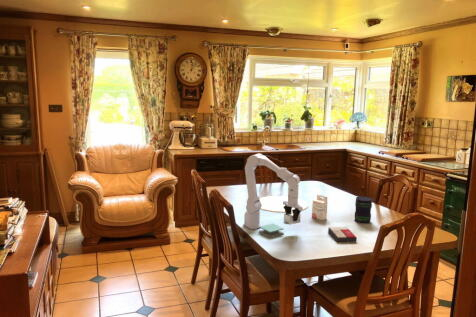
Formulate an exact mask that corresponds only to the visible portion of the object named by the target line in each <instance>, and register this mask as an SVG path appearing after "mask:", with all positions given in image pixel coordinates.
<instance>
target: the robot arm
mask: <svg viewBox="0 0 476 317" xmlns="http://www.w3.org/2000/svg"><path fill="white" fill-rule="evenodd" d="M258 166H265V167H267V168H269V169H270V170H272V171H273V172H275V173H276V175H277V177H279V178H280V179H282V180H283V181H285V182H286V183H287V184H286V185H287V186H288V187H287V188H288V189H287V197H288V201H283V205H285V206H284V207H283V208H284V210H285V212H286V213H291V211H292V212H293V220H294V221H297V219H298V216H299V214H301V212H302V211H304V210H303V207H302V206H300V205H299V203H298V199H299V184H300V183H301V178H300V176H299V175H298V174H294V173H293V172H290V170H288V169H287V167H280V166H278V165H277V164H275V163H274V162H273V161H272V160H270V159H269V158H268V157H267V156H266V155H263V153H259V152H258V153H256V154H252V155H249V157H248V158H247V159H246V162H245V166H244V173H245V181H246V189H247V196H248V197H247V199H246V205H245V206H246V207H245V208H246V210H245V211H246V212H244V221H243V222H244V223H243V226H244V227H246V228H248V229H250V230H256V229H260V228H259V226H262V225H261V224H260V222H261V210H262V209H261V207H262V204H261V202H260V199H259V198H260V197H259V196H258V190H257V189H258V188H257V183H256V182H257V181H256V175H255V174H256V172H255V170H256V168H257V167H258ZM292 207H293V208H295V209H292ZM286 213H285V214H286Z"/></svg>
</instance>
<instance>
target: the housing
mask: <svg viewBox="0 0 476 317" xmlns="http://www.w3.org/2000/svg"><path fill="white" fill-rule="evenodd" d="M301 215H302V214H301V213H300V214H299V216H298V219H297V221H294V220H293V212H291V213H284V214H283V224H285V225H288V226H290V225H295V224H298V223H301Z"/></svg>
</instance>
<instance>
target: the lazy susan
mask: <svg viewBox="0 0 476 317" xmlns="http://www.w3.org/2000/svg"><path fill="white" fill-rule="evenodd" d="M259 199H260V202H261V204H262V207H261V209H260V210H263V211H267V212H272V213H284V214H286V212H285V210H284V208H283V207H284V206H285V205H283V201H288V196H278V195H274V196H272V195H271V196H269V195H267V196H263V197H259ZM298 204H299V205H300V206H302V207H303V210H302V211H304V210H306V209H307V208H309V204H308V203H307V201H305V200H303V199H300V198H298ZM292 209H295V208H293V207H292ZM291 212H292V211H291Z"/></svg>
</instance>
